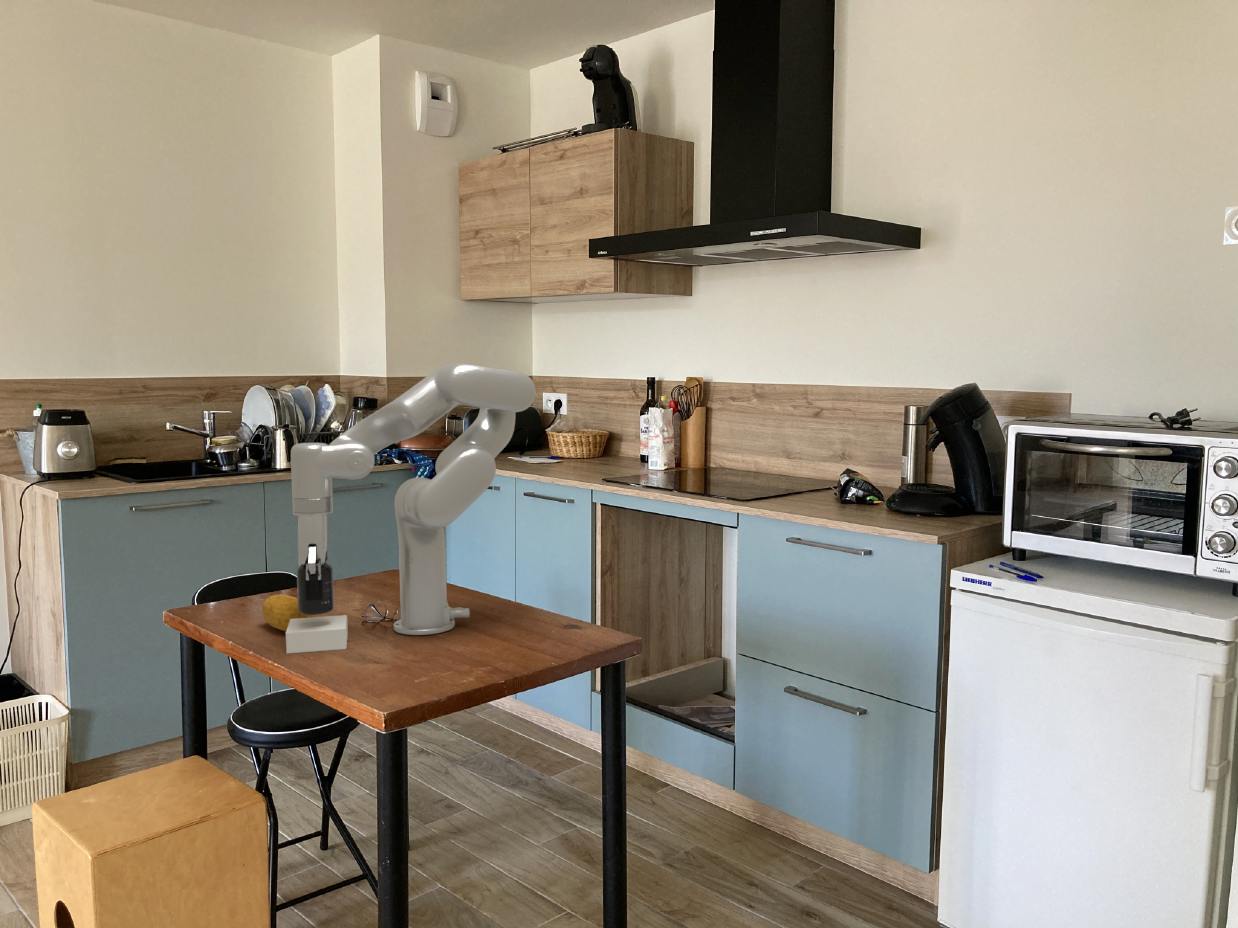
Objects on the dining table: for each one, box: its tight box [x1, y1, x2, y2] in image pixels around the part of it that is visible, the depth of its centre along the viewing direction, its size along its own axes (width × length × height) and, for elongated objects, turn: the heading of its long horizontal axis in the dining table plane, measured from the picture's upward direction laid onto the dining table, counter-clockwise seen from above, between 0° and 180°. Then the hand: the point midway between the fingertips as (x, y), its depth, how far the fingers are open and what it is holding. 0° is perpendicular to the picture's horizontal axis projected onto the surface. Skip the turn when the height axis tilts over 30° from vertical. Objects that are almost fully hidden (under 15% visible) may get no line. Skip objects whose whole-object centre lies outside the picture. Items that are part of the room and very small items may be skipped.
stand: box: [285, 614, 349, 654], centre depth 189 cm, size 11×11×4 cm
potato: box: [261, 593, 309, 633], centre depth 200 cm, size 7×14×7 cm, turn 38°
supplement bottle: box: [296, 550, 335, 616], centre depth 188 cm, size 7×7×12 cm
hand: (315, 594), depth 188 cm, fingers closed on supplement bottle, 6 cm apart
